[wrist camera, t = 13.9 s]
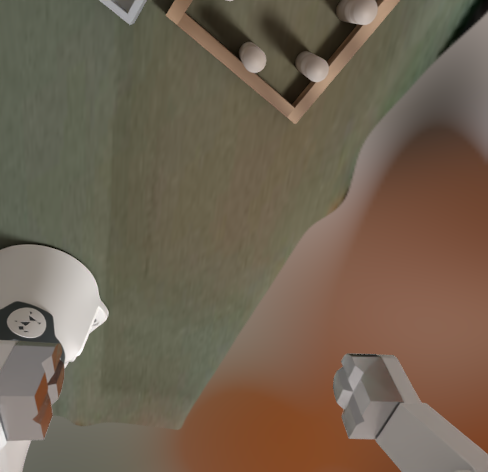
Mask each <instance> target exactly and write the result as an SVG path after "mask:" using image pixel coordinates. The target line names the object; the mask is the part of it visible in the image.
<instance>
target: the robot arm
mask: <svg viewBox="0 0 488 472" xmlns="http://www.w3.org/2000/svg"><path fill="white" fill-rule="evenodd" d="M108 315H109V312H108V309H107V308H106V306H105V305H104V303H103V302H102V301H101V300H100V297H99V291H98V286H97V283H96V281H95V279H94V277H93V275H92V274H91V272H90V271H89V270H88V269H87V268H86V267H85V266H84V265H83V264H82V263H81V262H79V261H78V260H77V259H75V258H74V257H72V256H70V255H68V254H66V253H64V252H62V251H60V250H57V249H54V248H50V247H46V246H41V245H31V244H25V245H15V246H11V247H7V248H4V249H1V250H0V472H22V470H23V465H24V461H25V458H26V454H27V451H28V448H29V445H30V442H31V440H44V438H45V435H46V432H47V429H48V427H49V424H50V421H51V419H52V416H53V412H52V406H51V405H52V404H53V403H54V402H55V401H57V400H58V399H59V396H60V393H61V390H62V386H63V381H64V373H65V367H66V366H67V364H68V362H69V361H70V362H73V361H74V360H75V358H76V357H77V356H79V355H80V354H81V352H82V350H83V348H84V345H85V343H86V340H87V338H88V335H89V333H90V332H92V331H93V330H94V329H96V328H97V327H98V326H99V325H101V324H102V323H103V322H105V321H106V319H107V317H108ZM341 362H342V365H343V367H342V368H341V369H339V370H338V371H337V372H336V374H335V377H334V382H333V383H334V384H333V389H334V395H335V398H336V401H337V403H338V404H339V405H340V406H341V407H342V408H343V409H344V411H343V414H342V419H343V423H344V425H345V428H346V431H347V434H348V437H349V439H350V438H351V439H376V442H377V443H378V444H379V445H380V446H381V448H382V449H383V450H384V451H385V452H386V454H387V455H388V456H389V457H390V458H391V460H392V461H393V462H394V463H395V464H396V465H397V467H399V469H400V470H401V471H402V472H488V454H487V453H486V452H484V451H483V450H482V449H481V448H480V447H478V446H477V445H476V444H475V443H473V442H472V441H471V440H470V439H468V438H467V437H466V436H465V435H464V434H462V433H461V432H460V431H459V430H458V429H457V428H455V427H454V426H453V425H452V424H450V423H449V422H448V421H447V420H445V419H444V418H443V417H442V416H441V415H440V414H438V413H437V412H436V411H435V410H433V409H432V408H431V407H430V406H429V405H427V404H426V403H421V401H420V399H419V398H418V396H417V394H416V392H415V390H414V389H413V387H412V385H411V383H410V381H409V379H408V378H407V376H406V374H405V372H404V370H403V368H402V366H401V365H400V363H399V361H398V359H397V358H396V357H395V356H394V355H376V354H346V355H345V356H344V357H343V359H342V361H341Z"/></svg>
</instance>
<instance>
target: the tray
mask: <svg viewBox="0 0 488 472" xmlns="http://www.w3.org/2000/svg"><path fill="white" fill-rule="evenodd" d="M99 1H101V2H102V3H103V4H104V5H106V6H107V7H108V8H109V9H111V10H112V11H113V12H114V13H116V14H117V15H118V16H120V17H121V18H122V19H123V20H125V21H126V22H127V23H128V24H130V25H132V24H134V22H135V20H136V19H137V17H138V15H139V13H140V12H141V10H142V8H143V6H144V5H145V3H146V1H147V0H99Z"/></svg>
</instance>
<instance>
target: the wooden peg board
mask: <svg viewBox="0 0 488 472" xmlns="http://www.w3.org/2000/svg"><path fill="white" fill-rule="evenodd" d="M227 1H233V0H227ZM399 1H400V0H377V1H375V0H341V1H340V2H339V3H338V5H337V8H336V14H337V17H338V19H339V20H341V21H343V22H349V23H354V24H357V26H356V27H355V28H354V29H353V30H352V32H351V33H350V34H349V35H348V37H347V38H346V39H345V40H344V41H343V43H342V44H341V45H340V46H339V48H338V49H337V50H336V51H335V52H334V54H333V55H332V56H331V57H330V59H329V60H328V61H327V62H326V61H325V60H324V59H322V58H320V57H318V56H316V55H315V54H313V53H311V52H309V51H303V52H301V53H300V54H299V55H298V56H297V57H296V60H295V66H296V68H297V70H298V71H300V72H301V73H302V74H303V75H305V76H306V77H307V78H309V79H310V80H311V82H310V83H309V84H308V85H307V87H306V88H305V89H304V90H303V92H302V93H301V94H300V95H299V96H298V98H297V99H296V100H295V101H294V103H293V104H291V103H289V102H288V101H287V100H286V99H285V98H284V97H282V96H281V95H280V94H279V93H278V92H277V91H276V90H274V89H273V88H272V87H271V86H270V85H269V84H267V83H266V82H265V81H264V80H263V79H262V78H261V77H259V76H258V75H257V74H256V73H257V72H260V71H261V70H262V69H263V68H264V67H265V64H266V56H265V53H264V52H263V51H262V50H261V49H260V48H259V47H258V46H257V45H256V44H254V43H252V42H245V43H244V44H242V45H241V47H240V49H239V58H240V59H239V58H237V57H236V56H235V55H234V54H233V53H232V52H231V51H229V50H228V49H227V48H226V47H225V46H224V45H222V44H221V43H220V42H219V41H218V40H217V39H216V38H214V37H213V36H212V35H211V34H210V33H209V32H207V31H206V30H205V29H204V28H203V27H202V26H201V25H199V24H198V23H197V22H196V21H195V20H194V19H192V18H191V17H190V16H189V15H188V14H187V13H186V10H187V9H188V7H189V5H190V4H191V2H192V0H175V1H174V2H173V4H172V6H171V7H170V9H169V11H168V12H167V14H166V16H167V17H168V18H169V19H171V20H172V21H173V22H174V23H175V24H177V25H178V26H179V27H180V28H181V29H182V30H184V31H185V32H186V33H187V34H188V35H190V36H191V37H192V38H193V39H194V40H196V41H197V42H198V43H199V44H200V45H201V46H203V47H204V48H205V49H206V50H207V51H209V52H210V53H211V54H212V55H213V56H215V57H216V58H217V59H218V60H219V61H220V62H222V63H223V64H224V65H225V66H226V67H228V68H229V69H230V70H231V71H232V72H234V73H235V74H236V75H237V76H238V77H240V78H241V79H242V80H243V81H244V82H245V83H247V84H248V85H249V86H250V87H251V88H253V89H254V90H255V91H256V92H257V93H259V94H260V95H261V96H262V97H263V98H264V99H266V100H267V101H268V102H269V103H270V104H272V105H273V106H274V107H275V108H276V109H278V110H279V111H280V112H281V113H282V114H283V115H285V116H286V117H287V118H288V119H289V120H291V121H292V122H293V123H294V124H296V123H297V122H298V121H299V119H300V118H301V117H302V116H303V115H304V113H305V112H306V111H307V110H308V109H309V108H310V106H311V105H312V104H313V103H314V102H315V100H316V99H317V98H318V97H319V96H320V94H321V93H322V92H323V91H324V90H325V89H326V87H327V86H328V85H329V84H330V83H331V81H332V80H333V79H334V78H335V77H336V76H337V74H338V73H339V72H340V71H341V70H342V68H343V67H344V66H345V65H346V64H347V62H348V61H349V60H350V59H351V58H352V57H353V55H354V54H355V53H356V52H357V51H358V49H359V48H360V47H361V46H362V45H363V44H364V42H365V41H366V40H367V39H368V38H369V36H370V35H371V34H372V33H373V32H374V30H375V29H376V28H377V27H378V26H379V25H380V23H381V22H382V21H383V20H384V19H385V17H386V16H387V15H388V14H389V13H390V12H391V10H392V9H393V8H394V7H395V6H396V4H397V3H398V2H399Z"/></svg>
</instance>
